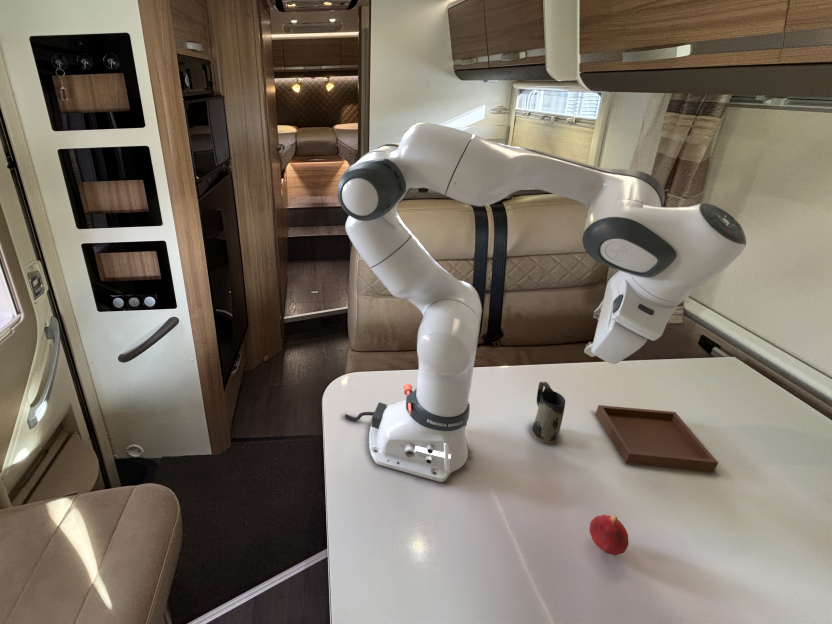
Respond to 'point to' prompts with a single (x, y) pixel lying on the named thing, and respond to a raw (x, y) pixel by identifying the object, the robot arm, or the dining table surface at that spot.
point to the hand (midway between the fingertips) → (593, 333)
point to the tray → (654, 439)
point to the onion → (609, 534)
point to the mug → (548, 414)
